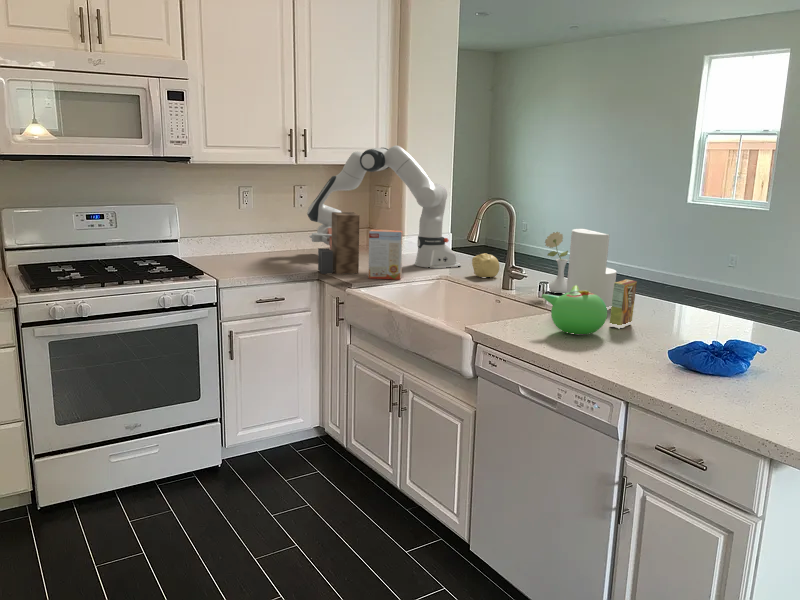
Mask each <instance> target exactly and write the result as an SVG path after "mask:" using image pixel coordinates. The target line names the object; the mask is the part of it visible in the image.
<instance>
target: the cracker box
mask: <svg viewBox="0 0 800 600" xmlns="http://www.w3.org/2000/svg"><path fill="white" fill-rule="evenodd" d="M368 233H369V234H368V235H369V236H368V279H374V280H394V281H395V280H397V281H399V280H401V279H402V272H403V269H402V268H403V267H402V266H403V265H402V264H403V230H397V229H396V230H393V229H392V230H390V229H370V230H369V231H368Z"/></svg>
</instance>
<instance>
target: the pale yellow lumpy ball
mask: <svg viewBox="0 0 800 600" xmlns="http://www.w3.org/2000/svg"><path fill="white" fill-rule="evenodd" d="M471 265H472V268H473V274H474V275H475V276H476V277H478V276H479V277H478V278H480V277H490V278H494V277H496V276H498V274H499V271H500V262H499V260H498V258H497V257H496V256H494V255H493V254H488V253H485V252H484V253H480V254H477V255H475V256H473V257H472V258H471Z"/></svg>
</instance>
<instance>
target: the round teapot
mask: <svg viewBox="0 0 800 600" xmlns="http://www.w3.org/2000/svg"><path fill="white" fill-rule="evenodd" d="M541 297H542V299H544V300H545V301H546V302H547V303H549V304H550V305H552V307H551V312H550V315H551V319H552V322H553V324H554V325H555V326H556V328H558V330H560V331H561V330H562V331H561V332H563V331H564V333H565V332H568V333H574V334H586V335H590V334H593V333H595V332H596V331H598V330H600V329H601V328H602V327H603V326H604V325H605V322H606V321H607V317H608V310H607V308H606V305H605V303H604V302H603V300H602V299H601V298H600V297H599V296H597V295H595V294H593V293H591V292H589V291H582V290H579V288H578V286H577V285H575V286H573V288H572V289H571V291H570V292H568V293H565V294H560V295H553V294H547V293H546V294H545V293H544V294H541ZM568 333H567V334H568ZM589 333H590V334H589Z"/></svg>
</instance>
